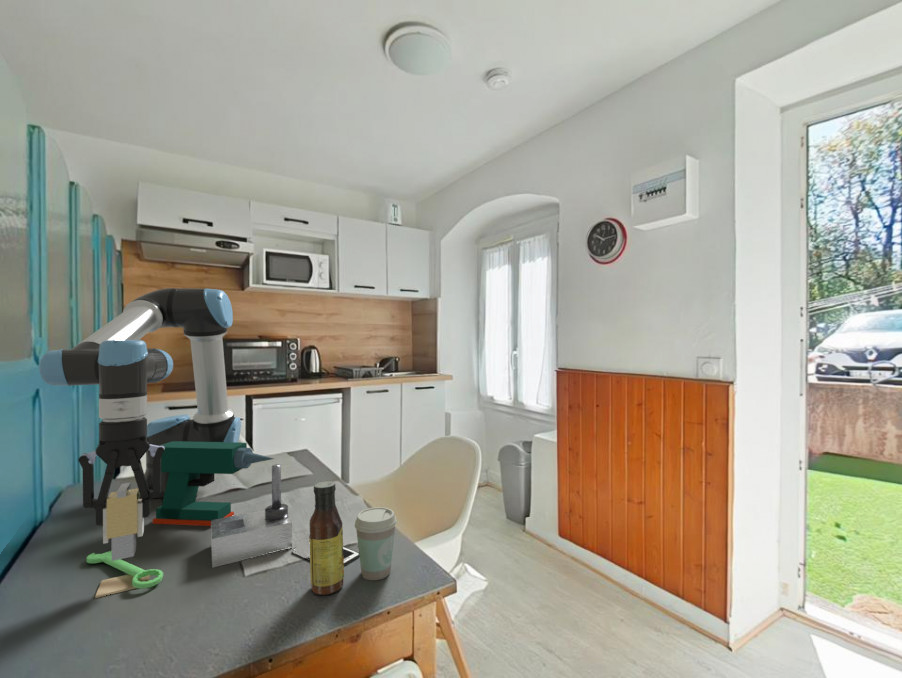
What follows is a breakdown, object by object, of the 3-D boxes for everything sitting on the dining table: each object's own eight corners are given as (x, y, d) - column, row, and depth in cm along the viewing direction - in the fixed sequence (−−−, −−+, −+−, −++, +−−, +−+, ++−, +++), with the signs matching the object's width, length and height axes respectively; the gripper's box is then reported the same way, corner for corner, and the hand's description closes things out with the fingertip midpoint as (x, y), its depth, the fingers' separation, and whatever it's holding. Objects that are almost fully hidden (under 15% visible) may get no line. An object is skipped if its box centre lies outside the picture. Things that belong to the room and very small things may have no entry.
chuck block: (211, 546, 100) (210, 468, 100) (284, 530, 108) (283, 458, 108) (212, 567, 90) (211, 482, 90) (292, 548, 98) (291, 470, 98)
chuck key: (112, 552, 85) (111, 485, 86) (140, 546, 88) (140, 481, 88) (106, 564, 80) (106, 493, 80) (136, 558, 82) (136, 489, 83)
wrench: (111, 554, 97) (82, 564, 93) (111, 545, 97) (82, 554, 93) (169, 579, 85) (138, 592, 80) (169, 569, 85) (138, 582, 80)
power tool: (282, 516, 116) (281, 442, 116) (268, 528, 109) (268, 449, 109) (172, 512, 119) (172, 440, 119) (152, 523, 112) (152, 447, 112)
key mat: (101, 582, 85) (101, 580, 85) (150, 571, 89) (150, 569, 89) (95, 598, 80) (95, 596, 80) (147, 585, 84) (147, 583, 84)
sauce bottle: (350, 586, 83) (349, 484, 83) (321, 601, 78) (320, 492, 78) (332, 574, 87) (331, 476, 87) (303, 587, 83) (302, 484, 83)
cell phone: (318, 540, 103) (318, 536, 103) (362, 557, 95) (361, 553, 95) (290, 553, 96) (290, 549, 96) (334, 573, 88) (334, 569, 88)
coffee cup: (377, 589, 82) (377, 526, 82) (345, 576, 86) (345, 517, 86) (405, 569, 89) (405, 511, 89) (374, 558, 94) (374, 503, 94)
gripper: (58, 426, 76) (59, 557, 76) (176, 416, 85) (176, 534, 85) (69, 419, 83) (70, 540, 83) (177, 411, 92) (178, 520, 92)
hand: (124, 536), depth 84 cm, fingers closed on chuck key, 5 cm apart
